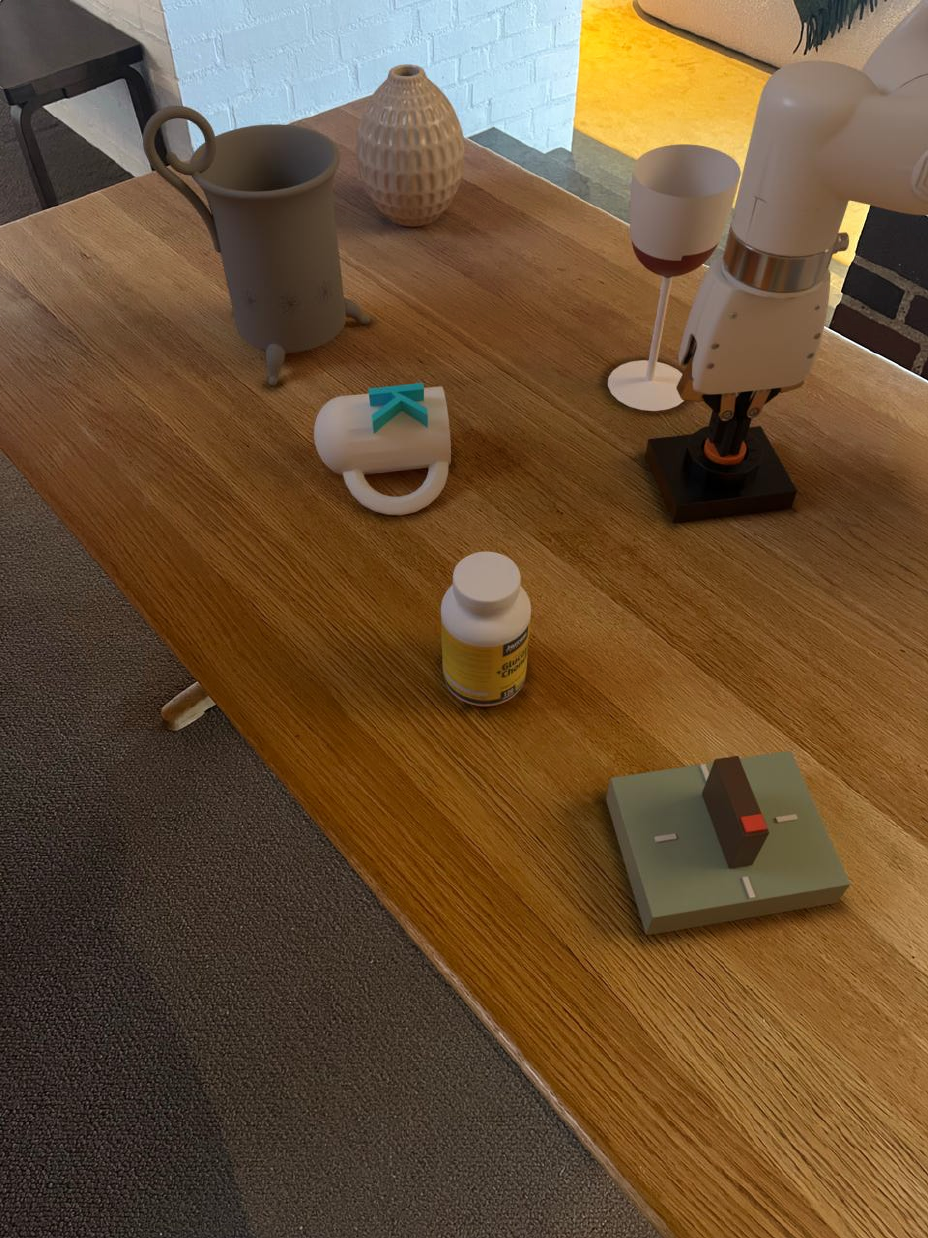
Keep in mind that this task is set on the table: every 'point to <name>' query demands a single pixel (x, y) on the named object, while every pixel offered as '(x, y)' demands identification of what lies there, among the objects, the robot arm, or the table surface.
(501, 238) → the table surface
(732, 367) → the robot arm
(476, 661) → the pill bottle
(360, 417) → the mug
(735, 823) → the handle
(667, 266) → the wineglass
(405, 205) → the vase
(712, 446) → the button
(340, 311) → the mug
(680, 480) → the button block
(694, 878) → the panel
